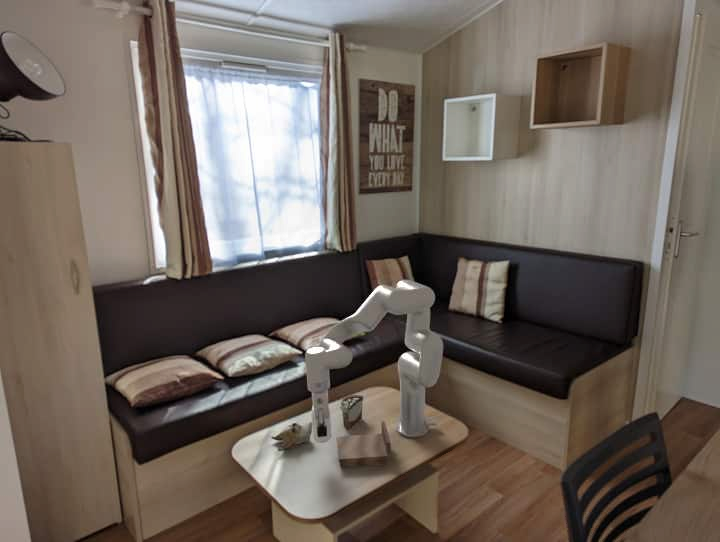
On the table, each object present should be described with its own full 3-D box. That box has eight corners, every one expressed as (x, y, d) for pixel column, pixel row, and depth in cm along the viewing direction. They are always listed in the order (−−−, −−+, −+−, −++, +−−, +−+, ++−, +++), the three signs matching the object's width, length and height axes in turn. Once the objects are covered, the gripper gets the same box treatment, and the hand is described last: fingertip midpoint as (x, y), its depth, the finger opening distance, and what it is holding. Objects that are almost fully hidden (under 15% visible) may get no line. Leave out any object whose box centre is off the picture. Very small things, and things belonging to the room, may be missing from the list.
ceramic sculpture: (316, 424, 186) (276, 437, 180) (318, 445, 188) (279, 458, 182) (306, 411, 195) (268, 423, 189) (308, 431, 197) (271, 443, 192)
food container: (351, 413, 210) (350, 391, 208) (363, 417, 207) (363, 395, 205) (334, 427, 200) (333, 404, 197) (347, 431, 197) (347, 408, 194)
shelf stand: (384, 442, 189) (384, 421, 187) (390, 465, 176) (390, 442, 173) (336, 446, 187) (336, 424, 185) (338, 469, 174) (338, 446, 172)
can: (323, 445, 172) (321, 414, 169) (309, 439, 176) (306, 408, 173) (335, 436, 177) (333, 405, 174) (321, 430, 181) (319, 400, 178)
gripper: (330, 395, 163) (334, 443, 168) (328, 371, 180) (331, 416, 184) (307, 397, 162) (311, 446, 167) (307, 373, 179) (311, 418, 184)
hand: (322, 429), depth 176 cm, fingers closed on can, 6 cm apart
